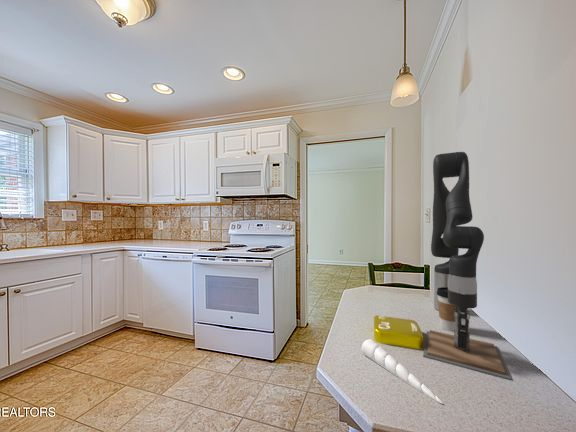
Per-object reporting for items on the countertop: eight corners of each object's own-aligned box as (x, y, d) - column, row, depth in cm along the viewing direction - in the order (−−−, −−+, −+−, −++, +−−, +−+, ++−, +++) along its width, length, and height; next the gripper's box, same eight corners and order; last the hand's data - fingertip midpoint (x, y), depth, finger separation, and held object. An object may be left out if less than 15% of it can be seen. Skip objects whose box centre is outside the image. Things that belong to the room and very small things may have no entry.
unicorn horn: (431, 411, 54) (431, 388, 54) (360, 355, 76) (360, 339, 76) (446, 405, 56) (446, 383, 56) (372, 352, 78) (372, 337, 78)
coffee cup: (466, 334, 91) (467, 292, 91) (441, 331, 93) (441, 290, 93) (456, 324, 99) (456, 286, 100) (432, 322, 101) (433, 285, 101)
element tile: (424, 351, 79) (424, 336, 79) (374, 343, 84) (374, 329, 84) (416, 331, 93) (416, 319, 93) (373, 325, 98) (373, 313, 98)
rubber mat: (426, 332, 92) (426, 330, 92) (497, 347, 82) (497, 346, 82) (423, 356, 75) (423, 355, 75) (511, 380, 65) (511, 378, 65)
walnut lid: (429, 332, 91) (430, 316, 91) (493, 346, 81) (493, 328, 81) (427, 354, 75) (427, 335, 76) (505, 375, 66) (505, 352, 66)
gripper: (447, 283, 87) (447, 333, 86) (448, 293, 75) (447, 351, 74) (474, 286, 83) (474, 338, 82) (479, 297, 71) (479, 358, 70)
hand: (461, 344), depth 78 cm, fingers closed on walnut lid, 4 cm apart
